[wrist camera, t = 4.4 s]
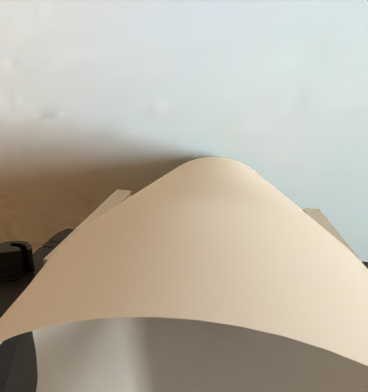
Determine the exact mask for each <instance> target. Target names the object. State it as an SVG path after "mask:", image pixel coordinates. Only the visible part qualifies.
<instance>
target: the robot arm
mask: <svg viewBox="0 0 368 392" xmlns="http://www.w3.org/2000/svg"><path fill="white" fill-rule="evenodd" d="M129 197H131V191H130V190H120V189H117V190H116V191H115V192H114V193H113V194H112V195H110V196H109V197H108V198H107V199H106V200H105V201H104V202H103V203H102V204H101V205H100V206H99V207H98V208H97V209H96V210H95V211H94V212H93V213H92V214H90V215H89V216H88V217H87V218H86V219H85V220H84V221H83V222H82V223H81V224H80V225H79V226H78V227H77V228H76V229H65V230H63V231H61V232H59V233H57V234H55V235H54V236H53V237H52V238H51V239H50V240H49V242H46V243H45V244H44V245H43V246H42V247H40V248H39V249H38V250H37V251H36V252H35V253H34V254H32V248H31V245H30V244H28V243H27V242H22V241H10V242H4V243H1V244H0V318H1V317H2V316H3V314H4V313H5V312H6V311H7V310H8V309H9V308H10V306H11V305H12V304H13V303H14V302H15V301H16V299H17V298H18V297H19V296H20V295H21V294H22V293H23V291H24V290H25V289H26V288H27V287H28V286H29V284H30V283H31V282H32V280H33V279H34V278H35V276H36V275H37V274H38V273H39V271H40V270H41V269H42V267H43V266H44V265H45V263H46V262H47V261H48V260H49V258H50V257H51V256H52V255H53V254H54V253H55V252H56V251H57V250H58V248H59V247H60V246H62V245H63V244H64V243H65V242H66V241H67V240H68V239H70V238H71V237H72V236H73V235H74V234H76V233H77V232H78V231H79V230H81V229H82V228H83V227H84V226H86V225H87V224H89V223H90V222H92V221H93V220H95V219H96V218H98V217H99V216H101V215H102V214H104V213H106V212H107V211H109V210H110V209H112V208H113V207H115V206H116V205H118V204H120V203H121V202H123V201H124V200H126V199H127V198H129ZM303 211H304V212H305V213H306V214H307V215H309V216H310V217H311V218H312V219H313V220H315V221H316V222H317V223H318V224H319V225H321V226H322V227H323V228H324V229H325V230H327V231H328V232H329V233H330V234H331V235H332V236H334V237H335V238H336V239H337V240H338V241H340V242H341V243H342V244H343V245H344V246H346V247H347V248H348V249H349V250H350V251H351V252H352V253H353V254H354V255H355V256H356V257H357V255H356V254H355V253H354V252H353V250H352V249H351V248H350V247H349V245H348V244H347V243H346V242H345V241H344V239H343V238H342V237H341V236H340V234H339V233H338V232H337V231H336V229H335V228H334V227H333V226H332V224H331V223H330V222H329V221H328V219H327V218H326V217H325V216H324V214H323V213H322V212H321V211H320V209H311V208H303ZM357 258H358V257H357ZM358 259H359V258H358ZM359 260H360V259H359ZM360 261H361V260H360ZM362 263H363V264H364V265H365V267H366V268H367V269H368V262H362ZM37 382H38V374H37V359H36V350H35V344H34V338H33V332H32V331H30V332H26V333H23V334H19V335H16V336H14V337H11V338H9V339H6V340H4V341H3V342H2V343H1V344H0V392H36V388H37Z"/></svg>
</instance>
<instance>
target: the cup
mask: <svg viewBox="0 0 368 392" xmlns="http://www.w3.org/2000/svg"><path fill="white" fill-rule="evenodd" d="M30 331H32V332H33V338H34V344H35V350H36V359H37V374H38V382H37V388H36V392H368V269H367V268H366V267H365V265H364V264H363V263H362V262H361V261H360V260H359V259H358V258H357V257H356V256H355V255H354V254H353V253H352V252H351V251H350V250H349V249H348V248H347V247H346V246H344V245H343V244H342V243H341V242H340V241H338V240H337V239H336V238H335V237H334V236H332V235H331V234H330V233H329V232H328V231H327V230H325V229H324V228H323V227H322V226H321V225H319V224H318V223H317V222H316V221H315V220H313V219H312V218H311V217H310V216H309V215H307V214H306V213H305V212H304V211H302V210H301V209H300V208H299V207H298V206H296V205H295V204H294V203H293V202H292V201H290V200H289V199H288V198H287V197H286V196H284V195H283V194H282V193H281V192H279V191H278V190H277V189H276V188H275V187H273V186H272V185H271V184H270V183H269V182H267V181H266V180H265V179H264V178H263V177H261V176H260V175H259V174H258V173H256V172H255V171H254V170H253V169H251V168H250V167H248V166H246V165H245V164H243V163H240V162H238V161H235V160H232V159H228V158H223V157H203V158H198V159H194V160H191V161H188V162H186V163H184V164H182V165H180V166H178V167H177V168H175V169H174V170H172V171H170V172H169V173H167V174H166V175H164V176H162V177H161V178H159V179H158V180H156V181H155V182H153V183H151V184H150V185H148V186H147V187H145V188H143V189H142V190H140V191H139V192H137V193H135V194H134V195H132V196H131V197H129V198H127V199H126V200H124V201H123V202H121V203H120V204H118V205H116V206H115V207H113V208H112V209H110V210H109V211H107V212H106V213H104V214H102V215H101V216H99V217H98V218H96V219H95V220H93V221H92V222H90V223H89V224H87V225H86V226H84V227H83V228H82V229H81V230H79V231H78V232H77V233H76V234H74V235H73V236H72V237H71V238H70V239H68V240H67V241H66V242H65V243H64V244H63V245H62V246H60V247H59V248H58V250H57V251H56V252H55V253H54V254H53V255H52V256H51V257H50V258H49V260H48V261H47V262H46V263H45V265H44V266H43V267H42V269H41V270H40V271H39V273H38V274H37V275H36V276H35V278H34V279H33V280H32V282H31V283H30V284H29V286H28V287H27V288H26V289H25V290H24V291H23V293H22V294H21V295H20V296H19V297H18V298H17V299H16V301H15V302H14V303H13V304H12V305H11V306H10V308H9V309H8V310H7V311H6V312H5V313H4V314H3V316H2V317H1V318H0V344H1V343H2V342H3V341H4V340H6V339H9V338H11V337H14V336H16V335H19V334H23V333H26V332H30Z"/></svg>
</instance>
